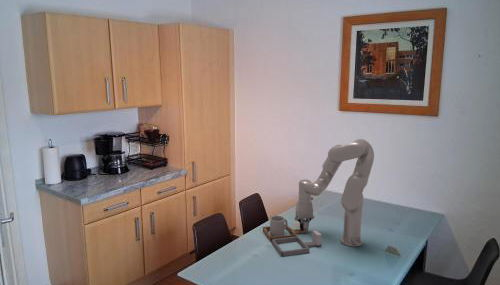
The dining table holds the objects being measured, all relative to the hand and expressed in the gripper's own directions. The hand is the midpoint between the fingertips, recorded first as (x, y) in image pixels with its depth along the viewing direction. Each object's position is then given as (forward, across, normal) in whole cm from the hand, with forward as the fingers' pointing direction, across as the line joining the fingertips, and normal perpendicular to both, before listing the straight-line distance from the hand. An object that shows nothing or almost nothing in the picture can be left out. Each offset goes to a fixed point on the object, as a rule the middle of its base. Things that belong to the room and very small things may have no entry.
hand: (304, 228), depth 228 cm
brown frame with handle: (+2, +11, 0) cm, 11 cm away
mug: (+2, +16, 0) cm, 16 cm away
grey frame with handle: (+2, +11, +18) cm, 21 cm away
